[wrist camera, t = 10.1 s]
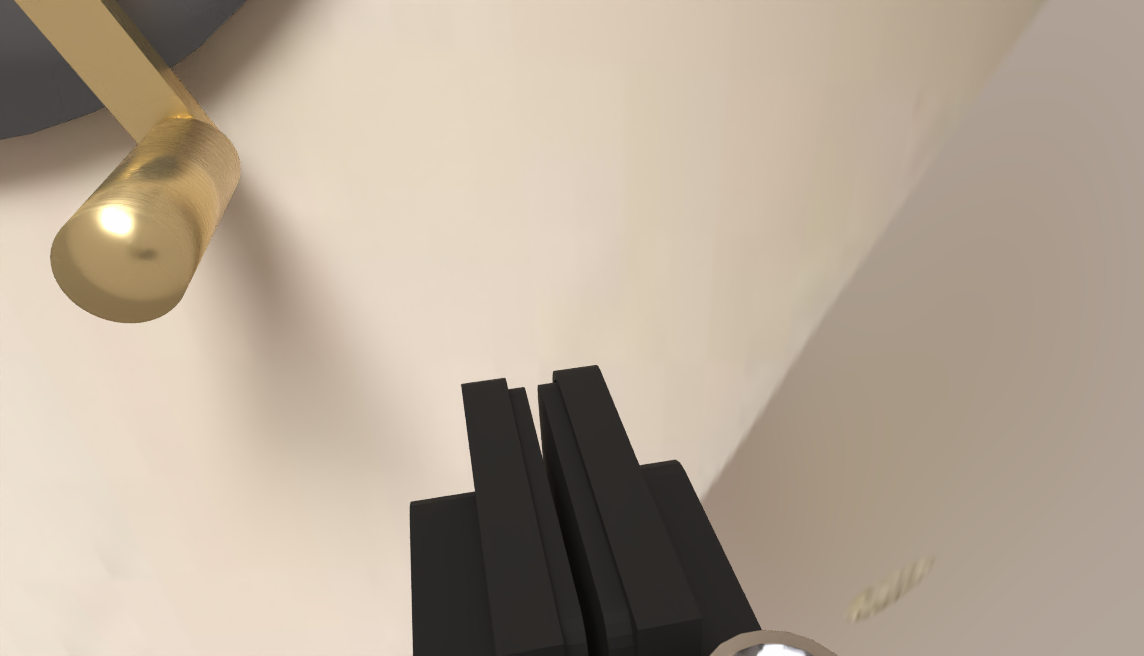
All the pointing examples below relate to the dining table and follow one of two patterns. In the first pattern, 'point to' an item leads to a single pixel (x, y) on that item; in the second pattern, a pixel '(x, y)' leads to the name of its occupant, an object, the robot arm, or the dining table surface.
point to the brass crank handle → (137, 170)
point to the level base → (53, 88)
